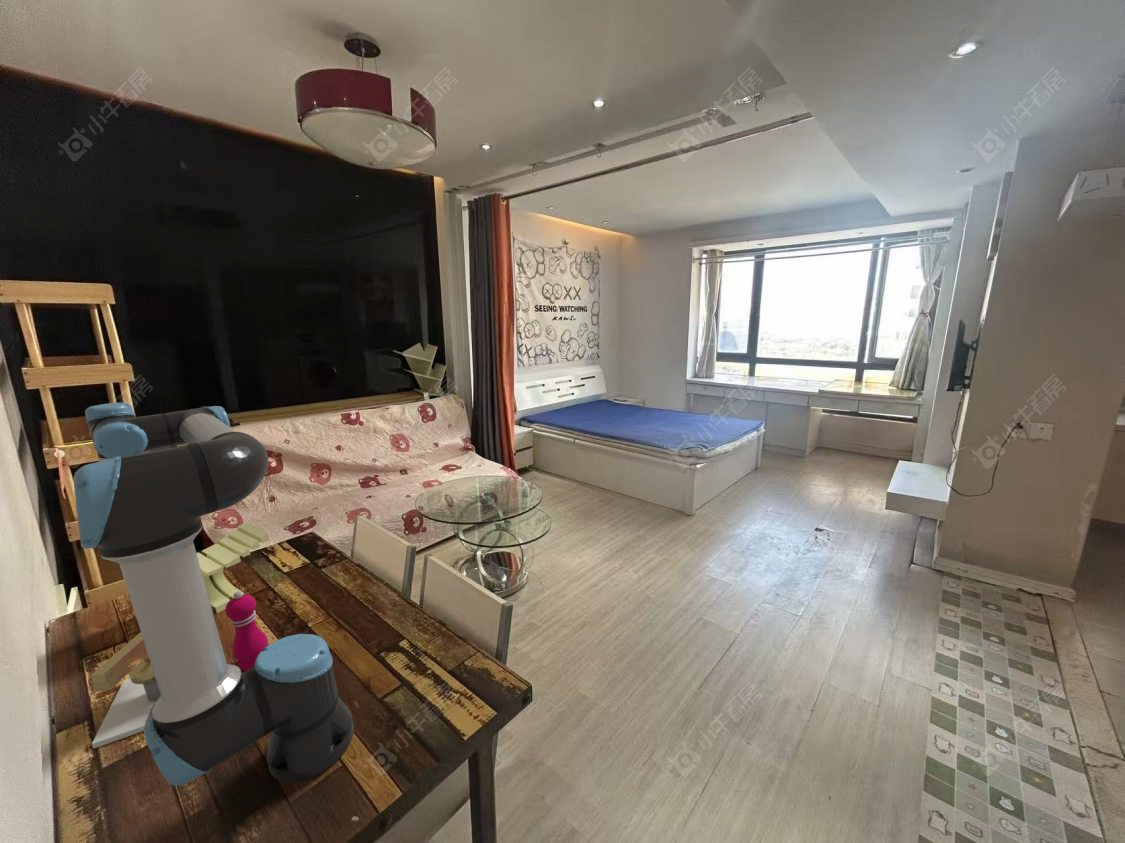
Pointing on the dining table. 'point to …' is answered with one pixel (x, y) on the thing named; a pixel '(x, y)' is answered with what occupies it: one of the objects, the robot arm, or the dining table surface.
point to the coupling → (125, 666)
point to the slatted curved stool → (227, 562)
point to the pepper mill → (245, 630)
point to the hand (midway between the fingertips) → (154, 562)
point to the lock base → (128, 712)
